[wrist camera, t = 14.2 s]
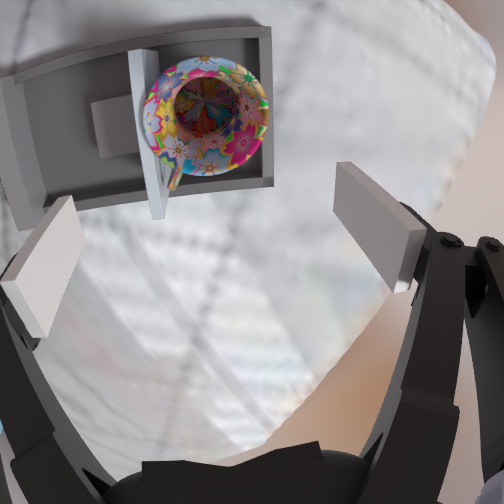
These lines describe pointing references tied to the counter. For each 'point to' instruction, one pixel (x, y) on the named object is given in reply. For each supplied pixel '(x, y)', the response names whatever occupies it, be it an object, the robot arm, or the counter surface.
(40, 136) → the grey tray
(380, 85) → the counter surface
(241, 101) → the mug
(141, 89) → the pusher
